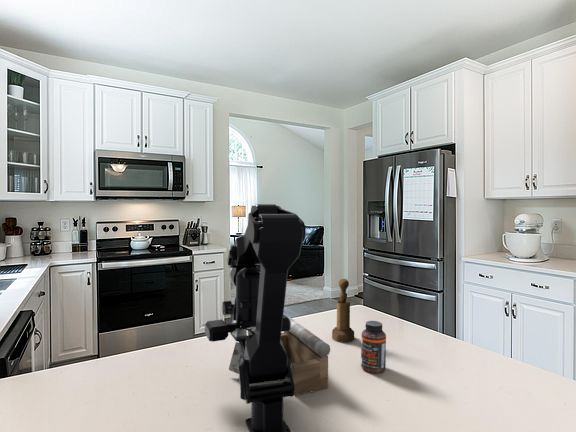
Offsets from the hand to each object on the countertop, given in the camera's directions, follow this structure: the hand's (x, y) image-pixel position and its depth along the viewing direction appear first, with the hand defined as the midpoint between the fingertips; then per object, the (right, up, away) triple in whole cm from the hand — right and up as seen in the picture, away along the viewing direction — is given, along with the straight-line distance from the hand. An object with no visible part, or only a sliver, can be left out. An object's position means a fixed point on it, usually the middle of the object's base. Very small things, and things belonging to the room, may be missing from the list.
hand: (248, 363), depth 81 cm
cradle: (+10, -4, +5) cm, 12 cm away
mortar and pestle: (+26, -4, +27) cm, 37 cm away
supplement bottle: (+30, -4, +7) cm, 31 cm away
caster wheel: (+2, -4, +5) cm, 7 cm away
